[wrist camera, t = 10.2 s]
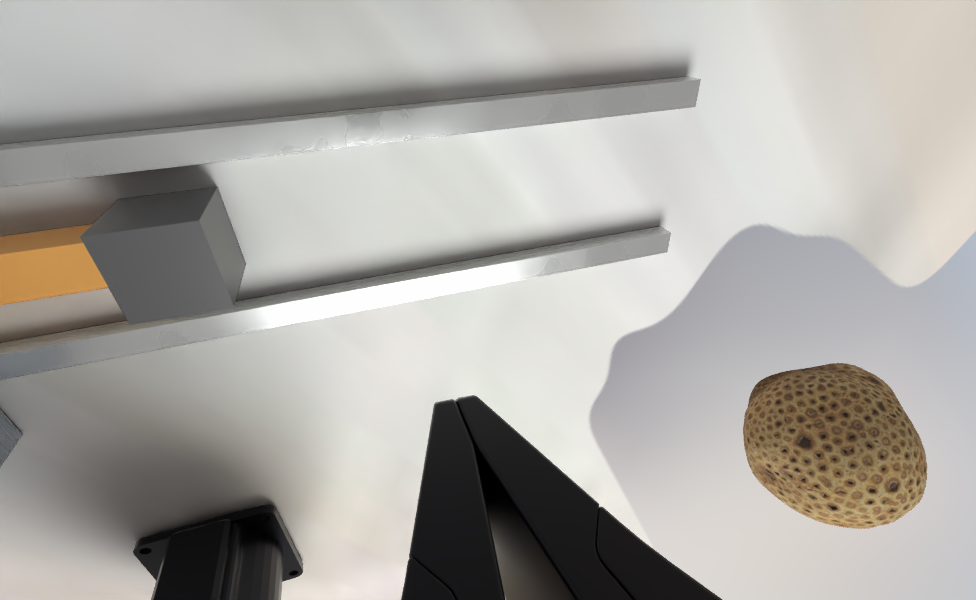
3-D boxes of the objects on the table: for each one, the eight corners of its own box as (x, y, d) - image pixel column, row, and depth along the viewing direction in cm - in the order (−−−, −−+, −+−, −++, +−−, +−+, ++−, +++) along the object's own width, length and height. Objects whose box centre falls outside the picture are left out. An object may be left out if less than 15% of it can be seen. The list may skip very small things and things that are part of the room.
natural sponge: (674, 422, 32) (795, 568, 23) (759, 315, 28) (935, 442, 20) (755, 435, 36) (882, 563, 28) (838, 343, 32) (1010, 458, 24)
